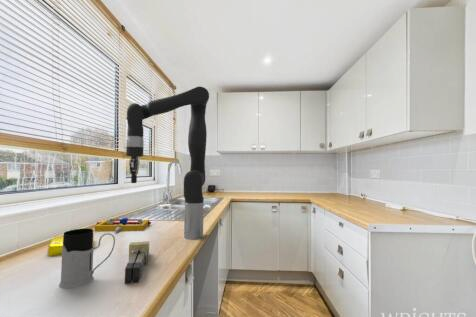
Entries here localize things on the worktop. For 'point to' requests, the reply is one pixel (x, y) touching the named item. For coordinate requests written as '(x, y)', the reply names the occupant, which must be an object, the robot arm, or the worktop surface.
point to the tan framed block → (139, 248)
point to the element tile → (56, 246)
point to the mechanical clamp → (122, 225)
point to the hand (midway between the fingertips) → (133, 182)
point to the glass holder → (78, 258)
